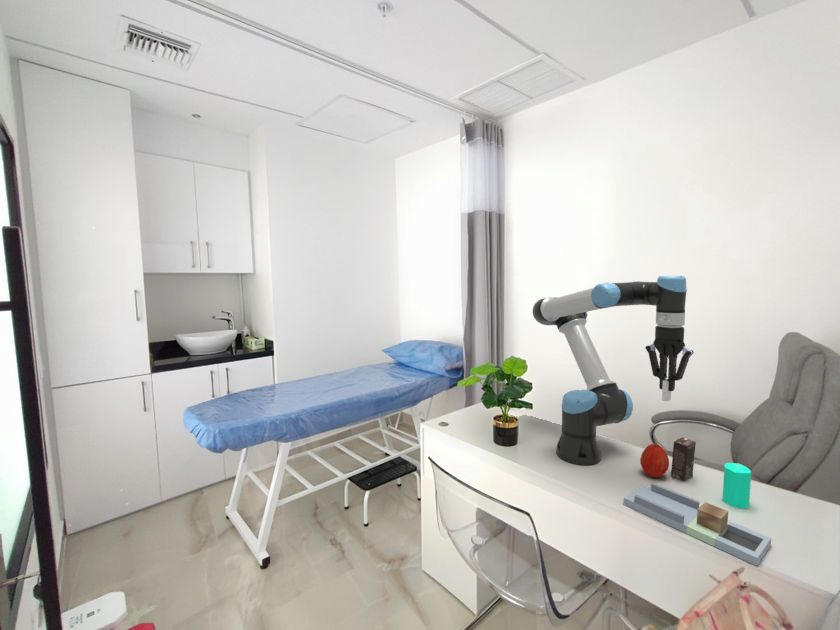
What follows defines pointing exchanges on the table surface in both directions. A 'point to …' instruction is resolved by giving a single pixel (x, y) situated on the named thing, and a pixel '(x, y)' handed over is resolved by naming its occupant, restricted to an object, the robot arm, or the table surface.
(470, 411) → the table surface
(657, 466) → the apple
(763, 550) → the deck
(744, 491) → the candle
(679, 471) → the box
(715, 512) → the block
